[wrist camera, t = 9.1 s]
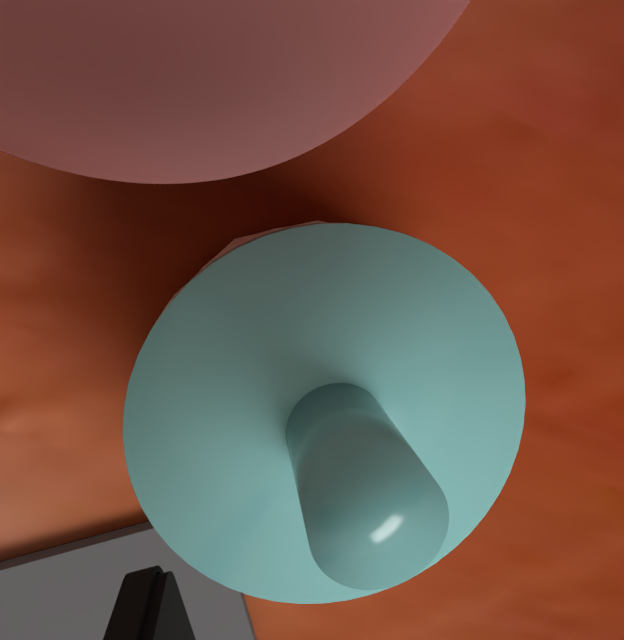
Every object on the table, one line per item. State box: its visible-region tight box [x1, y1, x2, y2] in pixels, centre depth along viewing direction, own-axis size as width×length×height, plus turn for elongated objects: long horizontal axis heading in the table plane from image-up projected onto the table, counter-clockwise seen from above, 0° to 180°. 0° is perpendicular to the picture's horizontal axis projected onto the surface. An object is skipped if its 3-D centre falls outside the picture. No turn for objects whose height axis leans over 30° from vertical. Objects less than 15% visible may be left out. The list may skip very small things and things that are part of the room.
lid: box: [123, 223, 525, 604], centre depth 13 cm, size 12×12×6 cm
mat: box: [0, 521, 257, 640], centre depth 21 cm, size 10×10×1 cm
